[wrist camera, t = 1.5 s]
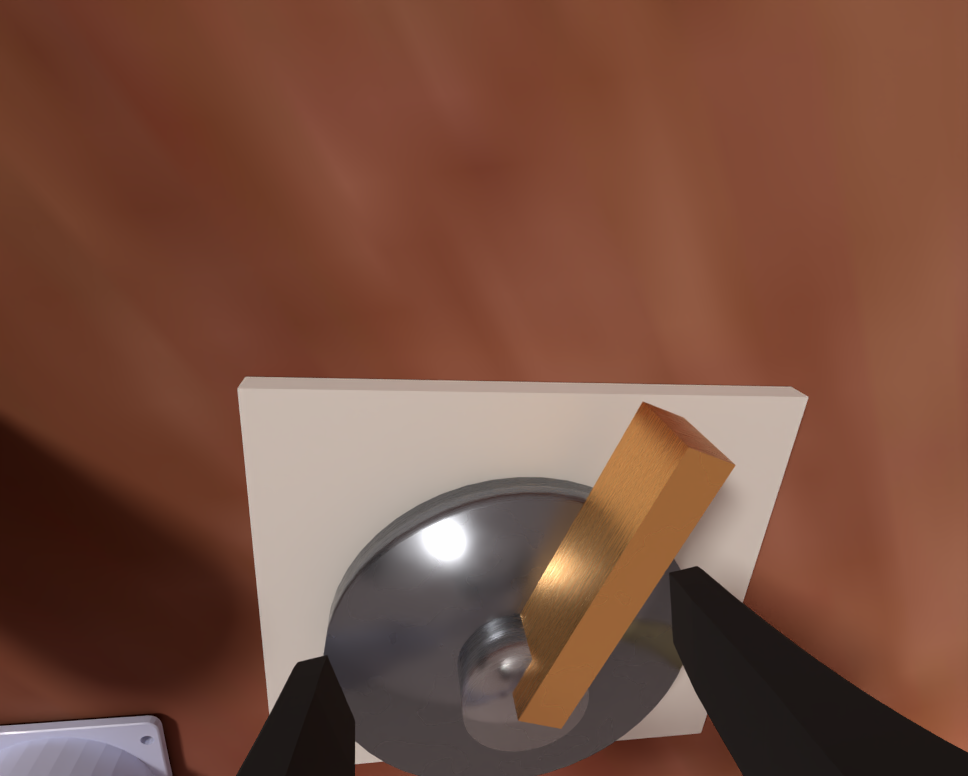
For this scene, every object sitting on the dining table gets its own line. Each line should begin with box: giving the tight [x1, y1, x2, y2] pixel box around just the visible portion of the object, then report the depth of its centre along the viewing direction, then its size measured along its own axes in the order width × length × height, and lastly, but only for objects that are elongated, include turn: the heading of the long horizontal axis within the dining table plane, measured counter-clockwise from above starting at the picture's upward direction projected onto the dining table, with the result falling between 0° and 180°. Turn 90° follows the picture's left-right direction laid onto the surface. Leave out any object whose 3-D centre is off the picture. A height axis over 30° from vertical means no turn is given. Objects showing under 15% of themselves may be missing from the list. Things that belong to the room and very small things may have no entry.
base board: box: [238, 377, 808, 764], centre depth 21 cm, size 18×20×6 cm
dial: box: [323, 402, 736, 776], centre depth 20 cm, size 18×14×4 cm
